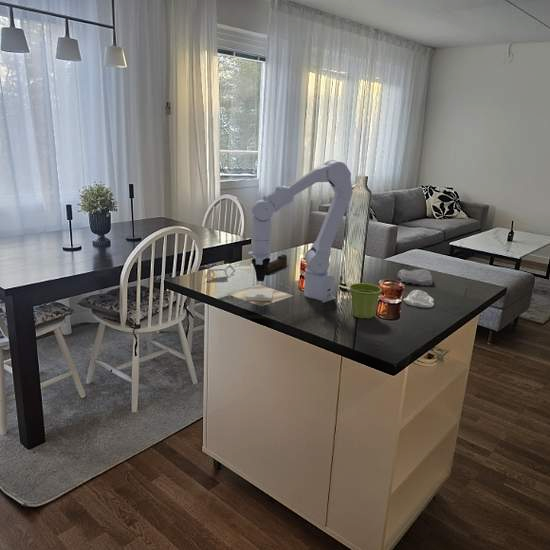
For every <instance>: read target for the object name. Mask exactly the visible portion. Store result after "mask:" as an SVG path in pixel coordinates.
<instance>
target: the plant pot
mask: <svg viewBox="0 0 550 550" xmlns="http://www.w3.org/2000/svg"><path fill="white" fill-rule="evenodd" d="M348 287H349V290H350V294H351V308H352V310H351V311H352V315H353V316H354V317H355V318H358V319H368V320H369V319H372V318H373V317H374V315H375V311H376V307H377V304H378V300H379V296H380V294H381V292H382V290H383V289H382V287H380V286H378V285H376V284H371V283H366V282H365V283H360V282H359V283H352V284H349V286H348Z"/></svg>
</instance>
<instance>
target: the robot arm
mask: <svg viewBox="0 0 550 550" xmlns="http://www.w3.org/2000/svg"><path fill="white" fill-rule="evenodd" d="M351 177H352V173H351V171H350V169H349V167H348V166H347V165H346V164H345V163H344V162H343V161H336V160H334V159H331V160H330V159H329V160H327V161H326V162H325V163H323V164H319V165H318V166H317V167H314V168H313V169H312V170H310V171H309V172H308V173H306V174H304V175H303V176H302V177H300V178H298V180H296V181H295V182H293V183H292V184H291V185H289V186H286V185H281V186H279V185H277V186H276V187H274V188H275V190H274V191H273V192H271V193H269V194H267V195H263V196H262V199H259V200H256V201H255V202H254V203H253V205H252V207H251V212H252V215H253V218H252V222H253V223H252V235H251V236H252V239H251V241H252V242H251V244H252V246H251V248H252V250H251V251H248V256H252V257H253V258H252V259H251V264H252V265H253V268H254V272H255V278H256V282H265V277H266V275H265V273H266V269H267V266H268V264H269V263H270V262H271V258H270V257H271V256H272V252H271V243H272V242H271V239H272V236H271V234H272V224H271V218H272V216H273V214H274V213H277V212H279V211H280V210H282V209H284V208H285V207H286V206H288V205H289V204H291V203H293V201H294V197H295V196H296V195H298V194H300V193H301V192H303V191H305V190H306V189H308V188H310V187H311V186H313V185H314V184H316V183H329V184H330V187H331V189H332V190H333V192H334V195H333V198H332V200H331V203H330V205H329V206H328V207H329V208H328V211H327V212H326V216H325V217H324V220H323V223H322V225H321V227H320V229H319V233H318V235H317V238H316V239H315V241H314V242H313V243H312V245H311V247H310V249H308V250H307V252H306V253H305V255H304V260H305V261H304V262H305V263H306V264H307V265H306V267H305V269H304V271H305V272H304V287H303V288H304V290H303V296H305V297H307V298H310V299H315V300H318V301H320V302H322V303H323V304H324V303H327V302H329V301H333V300H334V299H336V296H335V285H336V281H335V277H334V276H333V275H332V274H330V273H329V272H328V271H329V270H328V269H329V267H330V257H331V254H332V246H333V244H334V241H335V237H336V236H337V233H338V231H339V228H340V226H341V224H342V221H343V218H344V215H345V214H346V210H347V208H348V205H349V203H350V201H351V198H352V196H353V186H352V185H353V184H352V179H351Z"/></svg>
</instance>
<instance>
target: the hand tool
mask: <svg viewBox="0 0 550 550" xmlns="http://www.w3.org/2000/svg"><path fill="white" fill-rule="evenodd" d="M286 265H288V256H287V254H281V255H278V256H277V259H275V260H272V261H270V262H269V264H268V266H267V269H266V273H265V274H267V275H268V273H269V274H270V273H271V272H273V271H275V270H277V269H279V268H284V267H286Z"/></svg>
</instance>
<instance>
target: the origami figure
mask: <svg viewBox="0 0 550 550" xmlns="http://www.w3.org/2000/svg"><path fill="white" fill-rule="evenodd" d="M228 269H231V270H232V272H231V274H230V275H233V274H234V273H235V272H236V269H235V268H234V267H233V266H232V264H220V265H215V266H214V265H213V266H212V267H211V268H209V269H207V270H208V271H207V272H206V274H205V276H204V278H205V279H206V280H210V278H208V275H209V274H210V273H212V275H213V277H216V274H215V271H217V272H218V271H219V272H220V271H224V273H225V274H224V275H225V276H226V277H225V280H227V279H228V278H229V275H228V272H227V270H228Z"/></svg>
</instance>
